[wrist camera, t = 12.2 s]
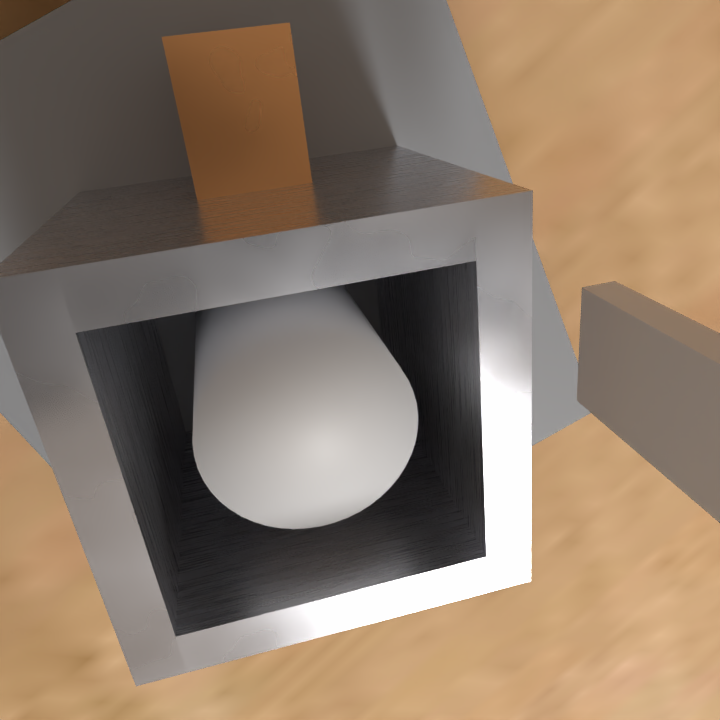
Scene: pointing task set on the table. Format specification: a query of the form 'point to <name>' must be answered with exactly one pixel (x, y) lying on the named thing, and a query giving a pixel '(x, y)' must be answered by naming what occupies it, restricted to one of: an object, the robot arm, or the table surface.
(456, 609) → the table surface
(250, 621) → the collar
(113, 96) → the grey base with peg
